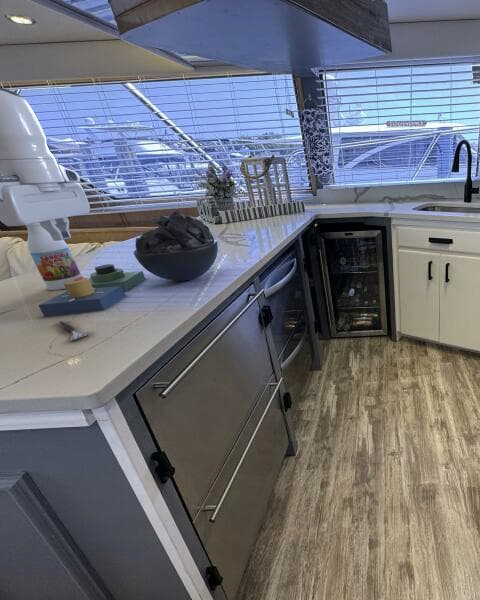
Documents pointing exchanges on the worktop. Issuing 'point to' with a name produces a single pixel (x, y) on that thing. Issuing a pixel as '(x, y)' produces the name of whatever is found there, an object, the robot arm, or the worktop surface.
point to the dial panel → (82, 302)
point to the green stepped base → (117, 279)
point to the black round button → (105, 269)
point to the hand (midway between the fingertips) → (62, 239)
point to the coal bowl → (177, 248)
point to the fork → (72, 331)
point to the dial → (78, 287)
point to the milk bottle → (51, 258)
